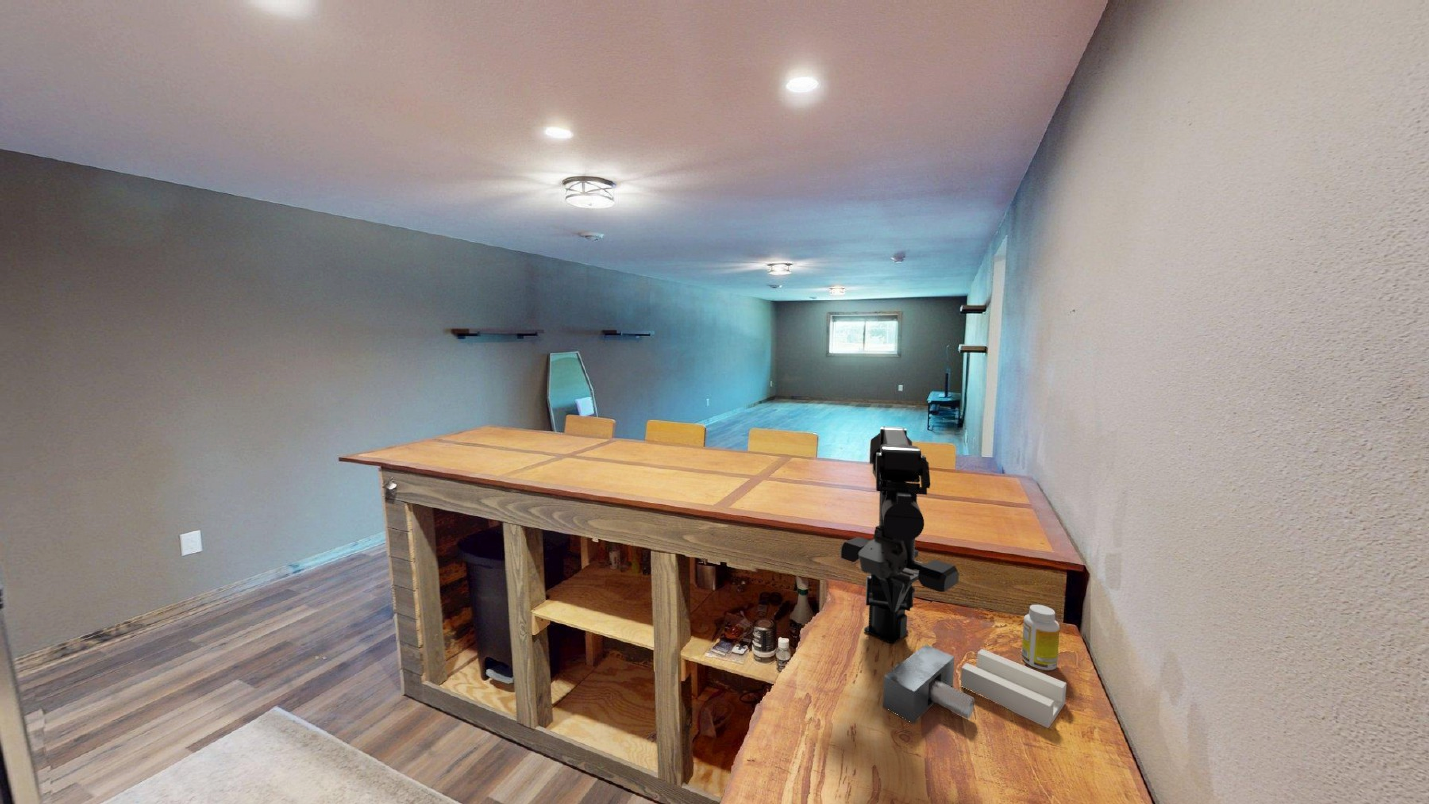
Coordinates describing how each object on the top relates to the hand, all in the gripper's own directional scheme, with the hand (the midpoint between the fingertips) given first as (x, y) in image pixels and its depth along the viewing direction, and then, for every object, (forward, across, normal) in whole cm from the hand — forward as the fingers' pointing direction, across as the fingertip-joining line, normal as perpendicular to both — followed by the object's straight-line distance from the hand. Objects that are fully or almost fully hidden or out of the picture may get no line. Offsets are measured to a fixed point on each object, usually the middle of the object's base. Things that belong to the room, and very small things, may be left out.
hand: (894, 610), depth 87 cm
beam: (+13, +5, 0) cm, 14 cm away
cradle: (+13, +15, +12) cm, 23 cm away
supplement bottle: (+13, +15, +26) cm, 33 cm away
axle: (+11, +7, 0) cm, 13 cm away
